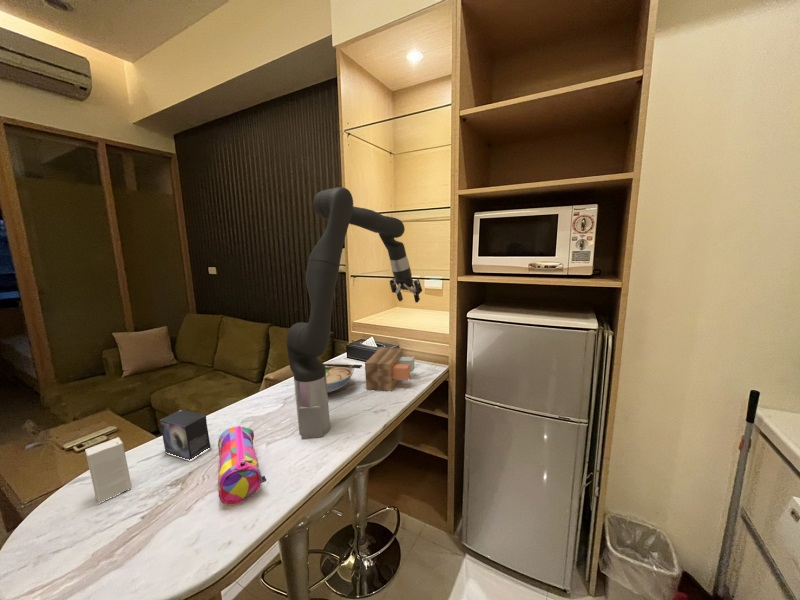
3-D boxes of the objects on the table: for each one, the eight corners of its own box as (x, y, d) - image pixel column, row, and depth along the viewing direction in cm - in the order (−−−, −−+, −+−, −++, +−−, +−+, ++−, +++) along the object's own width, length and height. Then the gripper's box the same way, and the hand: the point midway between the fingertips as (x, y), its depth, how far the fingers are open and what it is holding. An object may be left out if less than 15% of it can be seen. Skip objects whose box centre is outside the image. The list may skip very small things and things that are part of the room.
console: (366, 390, 123) (364, 363, 121) (381, 371, 142) (380, 347, 140) (391, 391, 120) (389, 364, 119) (402, 372, 140) (401, 348, 138)
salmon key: (390, 379, 123) (390, 367, 122) (394, 374, 128) (393, 363, 127) (407, 380, 121) (407, 368, 121) (410, 375, 126) (409, 363, 125)
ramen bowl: (281, 399, 118) (278, 378, 116) (314, 376, 139) (313, 358, 138) (341, 406, 110) (339, 384, 109) (366, 380, 132) (365, 362, 131)
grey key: (396, 371, 132) (395, 359, 131) (399, 367, 136) (398, 355, 136) (412, 372, 130) (411, 360, 129) (414, 367, 135) (414, 356, 134)
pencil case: (269, 496, 70) (264, 459, 69) (220, 516, 65) (215, 476, 64) (255, 447, 89) (252, 417, 87) (217, 460, 84) (212, 428, 82)
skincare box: (128, 481, 77) (119, 436, 75) (132, 489, 74) (123, 442, 72) (94, 496, 72) (84, 448, 70) (97, 505, 70) (87, 456, 68)
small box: (163, 455, 87) (157, 419, 85) (186, 441, 93) (181, 408, 91) (189, 463, 83) (183, 426, 81) (212, 448, 89) (207, 413, 87)
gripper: (382, 270, 132) (391, 304, 139) (410, 271, 124) (419, 306, 131) (391, 263, 138) (400, 296, 145) (419, 263, 130) (427, 297, 137)
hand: (409, 301), depth 138 cm, fingers open, 8 cm apart
